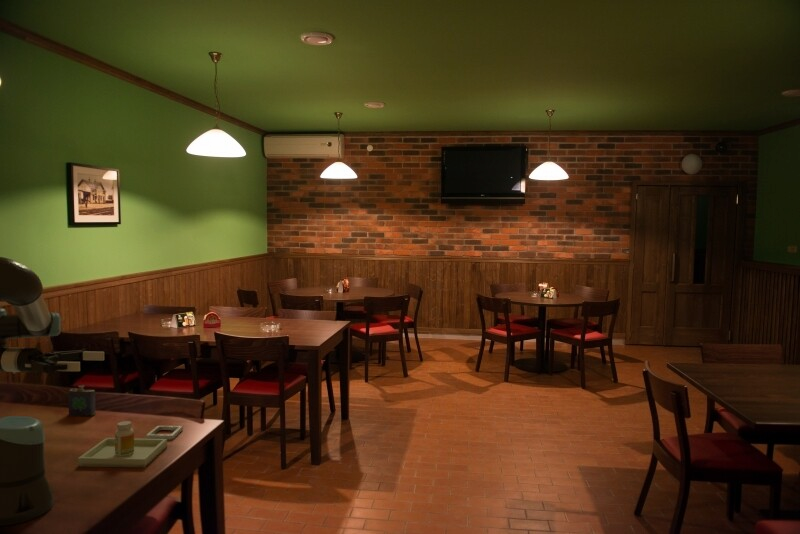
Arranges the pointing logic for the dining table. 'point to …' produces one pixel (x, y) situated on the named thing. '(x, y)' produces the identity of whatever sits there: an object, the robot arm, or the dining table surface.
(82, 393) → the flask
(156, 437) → the holder ring
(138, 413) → the dining table surface
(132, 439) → the supplement bottle
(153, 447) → the tray
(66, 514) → the dining table surface
